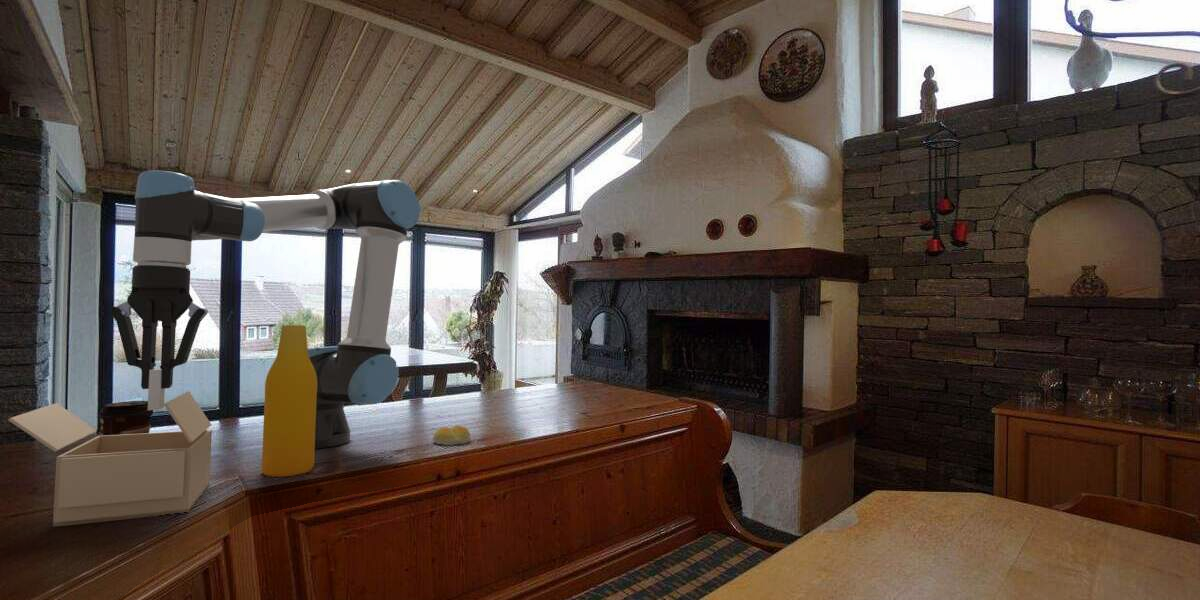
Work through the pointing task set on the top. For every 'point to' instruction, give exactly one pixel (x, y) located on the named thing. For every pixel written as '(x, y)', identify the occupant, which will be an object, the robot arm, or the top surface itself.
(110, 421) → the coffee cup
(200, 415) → the flap
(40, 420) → the flap
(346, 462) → the top surface
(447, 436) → the bread roll
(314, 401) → the beer bottle
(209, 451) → the carton
